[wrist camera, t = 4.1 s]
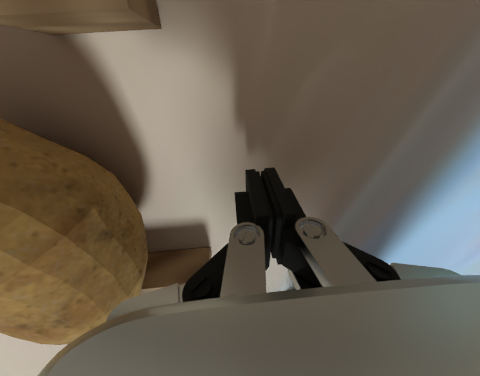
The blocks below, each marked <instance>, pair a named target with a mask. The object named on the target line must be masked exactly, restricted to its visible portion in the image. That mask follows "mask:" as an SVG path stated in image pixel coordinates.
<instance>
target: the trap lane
mask: <svg viewBox="0 0 480 376" xmlns="http://www.w3.org/2000/svg"><path fill="white" fill-rule="evenodd" d="M0 25H5V26H11V27H16V28H21V29H26V30H31V31H37V32H42V33H47V34H52V35H56V34H74V33H92V32H110V31H128V30H146V29H161V24H160V20H159V15H158V11H157V6H156V2H155V0H0ZM210 259H211V249H210V247H206V248H195V249H184V250H173V251H162V252H152V253H148V259H147V265H146V271H145V276H144V280H143V285H142V289H141V293H140V295H142V294H145V293H148V292H151V291H155V290H158V289H161V288H164V287H167V286H170V285H173V284H176V283H178V285H181V284H184V283H186V282H187V281H188V280H189V278H190V277H191V276H193V275H194V274H195V273H196V272H197V271H198V270H199V269H200V268H201V267H202V266H203V265H205V264H206V263H207V262H208V261H209V260H210Z"/></svg>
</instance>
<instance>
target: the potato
mask: <svg viewBox="0 0 480 376" xmlns="http://www.w3.org/2000/svg"><path fill="white" fill-rule="evenodd" d="M147 259H148V250H147V240H146V232H145V228H144V224H143V220H142V215H141V213H140V212H139V210H138V208H137V207H136V205H135V203H134V202H133V200H132V198H131V197H130V195H129V194H128V192H127V191H126V190H125V188H124V187H123V186H122V185H121V183H120V182H119V181H118V179H117V178H116V177H115V175H114V174H113V173H111V172H109V171H108V170H106V169H105V168H103V167H102V166H100V165H99V164H97V163H96V162H94V161H93V160H91V159H90V158H88V157H87V156H85V155H83V154H80V153H78V152H76V151H73V150H71V149H68V148H66V147H64V146H61V145H59V144H57V143H54V142H52V141H50V140H47V139H45V138H42V137H40V136H38V135H36V134H34V133H31V132H29V131H27V130H25V129H23V128H20V127H18V126H16V125H14V124H12V123H9V122H7V121H5V120H3V119H1V118H0V333H3V334H6V335H9V336H12V337H15V338H19V339H23V340H27V341H31V342H35V343H40V344H54V345H62V344H69V343H71V342H72V341H74V340H75V339H77V338H78V337H80V336H81V335H83V334H84V333H86V332H88V331H89V330H91V329H93V328H95V327H97V326H99V325H101V324H102V323H104V322H106V320H107V318H108V316H109V314H110V313H111V312H112V310H113V309H114V308H115V307H116V306H117V305H119V304H120V303H121V302H123V301H125V300H127V299H130V298H133V297H136V296H139V295H140V293H141V289H142V285H143V280H144V276H145V271H146V265H147Z"/></svg>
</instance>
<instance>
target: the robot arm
mask: <svg viewBox="0 0 480 376" xmlns="http://www.w3.org/2000/svg"><path fill="white" fill-rule="evenodd" d="M235 202H236V215H237V225H236V226H234V227H233V229H232V230H231V232H230V237H229V243H228V244H227V245H225V246H224V247H223V248H222V249H221V250H220V251H219V252H218V253H217V254H216V255H214V256H213V257H212V258H211V259H210V260H209V261H208V262H207V263H206V264H205V265H203V266H202V267H201V268H200V269H199V270H198V271H197V272H196V273H195V274H194V275H193V276H191V277H190V278H189V280H188V281H187V282H186V283H184V284H181V285H178V283H176V284H173V285H170V286H167V287H164V288H161V289H158V290H155V291H151V292H148V293H145V294H142V295H139V296H136V297H133V298H130V299H127V300H125V301H123V302H121V303H120V304H119V305H117V306H116V307H115V308H114V309H113V310H112V312H111V313H110V314H109V316H108V318H107V320H106V322H104V323H102V324H101V325H99V326H97V327H95V328H93V329H91V330H89V331H88V332H86V333H84V334H83V335H81V336H80V337H78V338H77V339H75V340H74V341H72V342H71V343H69V344H68V345H67V346H66V347H64V348H63V349H62V350H61V351H60V352H58V353H57V355H56V356H55V357H54V358H53V359H52V360H51V361H50V362H49V363H48V364H47V365H46V366H45V367H44V369H43V370H42V371H41V372H40V373H39V375H38V376H480V275H460V274H458V273H455V272H453V271H451V270H447V269H443V268H435V267H426V266H417V265H408V264H399V263H391V264H390V265H389V264H387V263H386V262H384V261H382V260H381V259H378V258H376V257H374V256H372V255H370V254H368V253H366V252H363V251H361V250H359V249H357V248H355V247H353V246H351V245H349V244H346V243H344V242H342V241H341V240H340V239H339V238H338V236H337V235H336V234H335V233H334V232H333V231H332V230H331V228H330V227H329V226H328V225H327V224H326V223H325V222H323V221H321V220H320V219H317V218H313V217H306V215H305V214H304V212H303V210H302V208H301V206H300V205H299V203H298V201H297V199H296V197H295V195H294V194H293V192H292V190H291V189H290V188H284V186H283V184H282V182H281V180H280V178H279V176H278V174H277V172H276V170H275V168H265V169H264V171H261V176H260V173H259V171H257V172H256V171H255V169H251V170H246V192H235ZM270 252H271V254H272V258H276V260H277V263H278V265H279V264H282V265H283V266H284V267H286V268H288V273H289V276H290V278H291V280H292V282H293V284H294V286H295V288H296V290H289V291H279V292H269V293H266V272H265V271H266V270H267V268H268V267H269V262H270Z"/></svg>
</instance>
